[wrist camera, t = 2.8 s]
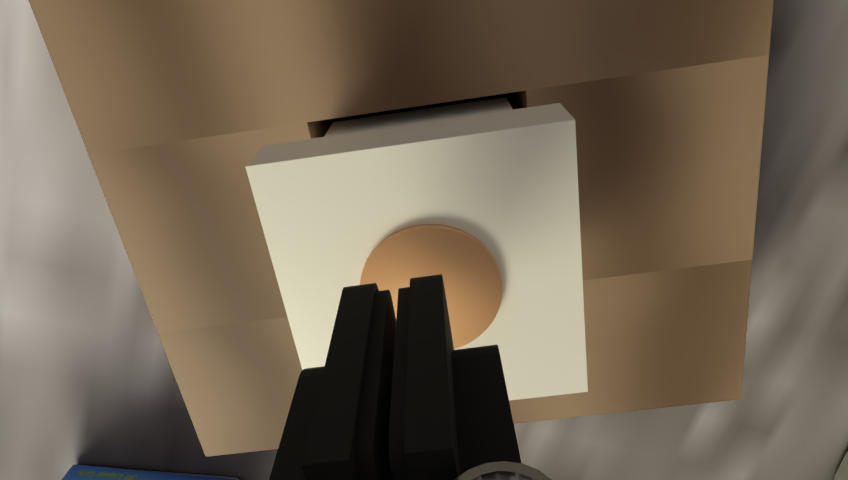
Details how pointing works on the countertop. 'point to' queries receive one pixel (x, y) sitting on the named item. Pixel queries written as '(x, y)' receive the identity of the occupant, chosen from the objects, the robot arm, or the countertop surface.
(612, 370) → the wooden block
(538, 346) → the button
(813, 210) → the countertop surface
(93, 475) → the medicine box
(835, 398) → the countertop surface
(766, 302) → the countertop surface
